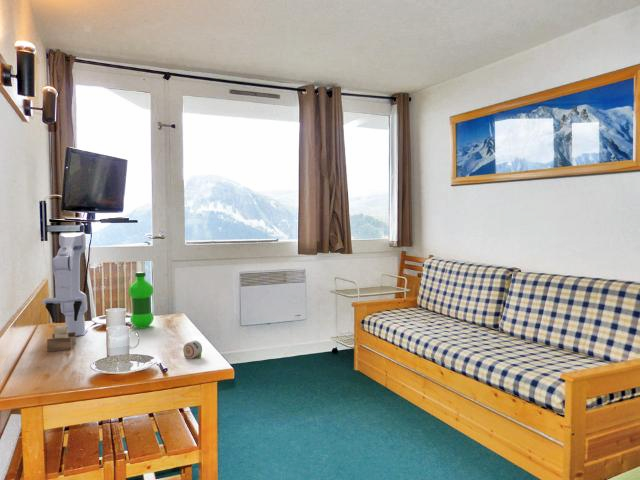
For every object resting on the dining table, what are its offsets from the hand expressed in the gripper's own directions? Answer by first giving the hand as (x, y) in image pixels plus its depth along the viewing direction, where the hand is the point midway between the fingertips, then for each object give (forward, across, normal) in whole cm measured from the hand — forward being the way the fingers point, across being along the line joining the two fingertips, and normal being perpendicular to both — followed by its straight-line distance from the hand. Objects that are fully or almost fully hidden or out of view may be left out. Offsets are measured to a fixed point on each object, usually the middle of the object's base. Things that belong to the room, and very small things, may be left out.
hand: (65, 321), depth 192 cm
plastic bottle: (+10, +26, +26) cm, 39 cm away
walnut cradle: (+10, -1, -1) cm, 10 cm away
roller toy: (+10, +47, -34) cm, 59 cm away
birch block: (+7, -1, -1) cm, 7 cm away
